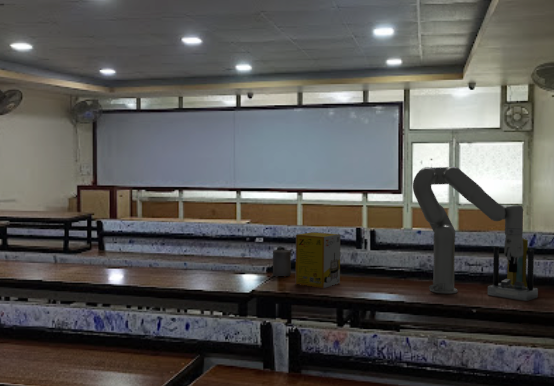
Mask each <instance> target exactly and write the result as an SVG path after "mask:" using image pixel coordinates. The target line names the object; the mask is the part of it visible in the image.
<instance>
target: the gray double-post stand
mask: <svg viewBox="0 0 554 386" xmlns="http://www.w3.org/2000/svg"><path fill="white" fill-rule="evenodd" d="M534 257H535V250H534V249H528V250H527V275H526V283H527V287H525V286H517V285H512V284H509V285H507V286H504V285H502V284H501V282H499V274H500V246H498V245H497V246H496V245H495V246H493V262H492V263H493V268H492V270H493V271H492V273H493V275H492V276H493V277H492V285H488V286H487V296H493V297H498V298H503V299H510V300H511V299H512V300H517V301H524V302H528V301H531V300H534V299H537V298H538V297H539V296H538V295H539V288H537V287H534V265H535V264H534V262H535V258H534Z"/></svg>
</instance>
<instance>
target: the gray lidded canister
mask: <svg viewBox="0 0 554 386" xmlns="http://www.w3.org/2000/svg"><path fill="white" fill-rule="evenodd" d="M291 254H292V253H291V250H289V249H275V250H272V276H273V277H274V276H289V277H291V276H292V272H291V271H292V270H291V268H292V266H291V264H292V262H291V260H292V259H291V257H292V256H291ZM290 275H291V276H290Z"/></svg>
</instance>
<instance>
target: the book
mask: <svg viewBox="0 0 554 386" xmlns="http://www.w3.org/2000/svg"><path fill="white" fill-rule="evenodd" d="M528 243H529V240H528V239H526V238H523V256H521V257H519V259H518V263H516V264H517V272H515V273H514V272H509V263H508V262H507V268H506V269H507V271H506V272H507V273H506V274H507V275H506V277H507V278H506V279H511V283H510V284H512V285H515V282H524V286H525V287H527V253H528V250H529V248H528Z"/></svg>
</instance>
